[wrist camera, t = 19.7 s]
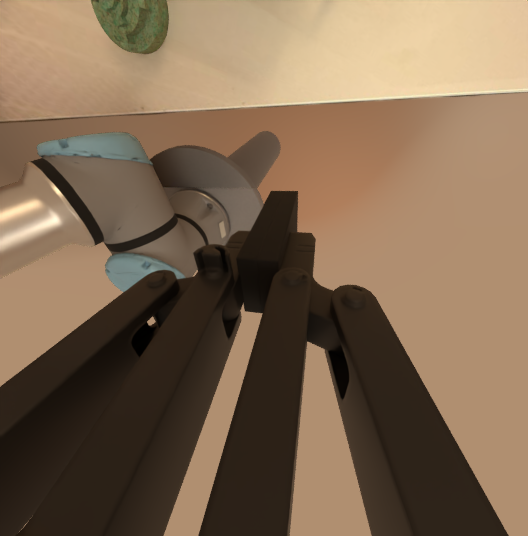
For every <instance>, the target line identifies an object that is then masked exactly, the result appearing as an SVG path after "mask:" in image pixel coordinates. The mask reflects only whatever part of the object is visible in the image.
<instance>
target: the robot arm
mask: <svg viewBox="0 0 528 536" xmlns="http://www.w3.org/2000/svg"><path fill="white" fill-rule="evenodd" d="M37 150H38V155H39V156H41V157H42V158H41V159H38V160H34V161H31V162H27V163H26V164H25V167H24V171H23V175H22V178H21V179H20V180H19V181H18V182H15V183H12V184H9V185H6V186H3V187H0V279H1V278H3V277H5V276H7V275H9V274H11V273H13V272H15V271H17V270H19V269H21V268H23V267H25V266H27V265H29V264H31V263H33V262H36V261H38V260H39V259H41V258H43V257H46V256H48V255H50V254H52V253H54V252H56V251H58V250H60V249H62V248H64V247H66V246H68V245H70V244H78V245H83V246H89V247H93V246H95V245H97V244H99V243H101V242H104V243H105V245H106V246H107V248H108V249H109V250H110V252H111V253H112V256H110V257H109V258H108V260H107V262H106V265H105V267H106V270H105V271H106V274H107V276H108V278H109V279H110V280H111V282H112V283H113V284H114V285H115V286H116V287H117V288H119V289H120V290H121V291H123V292H124V293H122V294H121V295H120V296H118V297H117V298H116V299H115V300H113V301H112V302H111V303H109V304H108V305H107V306H105V307H104V308H103V309H101V310H100V311H99V312H97V313H96V314H95V315H93V316H92V317H91V318H90V319H89V320H87V321H86V322H84V323H83V324H82V325H80V326H79V327H78V328H77V329H75V330H74V331H73V332H71V333H70V334H69V335H67V336H66V337H65V338H63V339H62V340H61V341H59V342H58V343H57V344H56V345H54V346H53V347H52V348H50V349H49V350H48V351H46V352H45V353H44V354H43V355H41V356H40V357H39V358H37V359H36V360H35V361H33V362H32V363H31V364H29V365H28V366H27V367H25V368H24V369H23V370H22V371H20V372H19V373H18V374H16V375H15V376H14V377H12V378H11V379H10V380H8V381H7V382H6V383H5V384H3V385H2V386H1V387H0V536H163V535H164V532H165V530H166V527H167V524H168V521H169V518H170V516H171V513H172V510H173V507H174V505H175V502H176V499H177V496H178V494H179V491H180V488H181V486H182V483H183V480H184V477H185V474H186V471H187V469H188V466H189V463H190V461H191V458H192V455H193V452H194V450H195V447H196V444H197V441H198V438H199V436H200V433H201V430H202V427H203V425H204V422H205V419H206V416H207V414H208V411H209V408H210V405H211V403H212V400H213V397H214V394H215V392H216V389H217V386H218V383H219V381H220V378H221V375H222V372H223V370H224V367H225V364H226V361H227V359H228V356H229V353H230V350H231V347H232V345H233V342H234V339H235V336H236V334H237V331H238V328H239V325H240V323H241V312H240V310H241V307H242V305H243V303H244V309H245V311H248V312H256V313H263V314H262V318H261V321H260V325H259V328H258V332H257V335H256V339H255V342H254V346H253V349H252V352H251V356H250V359H249V363H248V366H247V370H246V374H245V377H244V380H243V384H242V387H241V391H240V394H239V397H238V401H237V404H236V408H235V411H234V415H233V418H232V421H231V425H230V428H229V432H228V436H227V439H226V442H225V446H224V449H223V453H222V456H221V459H220V463H219V466H218V470H217V473H216V477H215V480H214V484H213V487H212V491H211V494H210V498H209V501H208V504H207V508H206V511H205V515H204V518H203V522H202V525H201V529H200V532H199V536H289V535H290V534H289V533H290V524H291V513H292V502H293V491H294V480H295V468H296V458H297V446H298V436H299V425H300V414H301V402H302V392H303V381H304V370H305V359H306V347H307V341H308V342H311V343H312V344H315V345H317V346H319V347H321V348H324V349H325V354H326V358H327V362H328V365H329V370H330V373H331V377H332V381H333V385H334V389H335V393H336V397H337V401H338V405H339V409H340V413H341V417H342V421H343V424H344V429H345V432H346V436H347V440H348V444H349V448H350V452H351V456H352V460H353V464H354V468H355V472H356V475H357V479H358V483H359V487H360V491H361V495H362V499H363V503H364V507H365V511H366V515H367V519H368V523H369V527H370V530H371V534H372V536H508V534H507V532H506V530H505V529H504V527H503V525H502V523H501V521H500V520H499V518H498V516H497V514H496V513H495V511H494V509H493V507H492V505H491V504H490V502H489V500H488V498H487V496H486V495H485V493H484V491H483V489H482V488H481V486H480V484H479V482H478V480H477V478H476V477H475V475H474V473H473V471H472V469H471V468H470V466H469V464H468V462H467V460H466V459H465V457H464V455H463V453H462V452H461V450H460V448H459V446H458V444H457V443H456V441H455V439H454V437H453V436H452V434H451V432H450V430H449V428H448V426H447V425H446V423H445V421H444V420H443V417H442V416H441V414H440V412H439V410H438V409H437V407H436V405H435V403H434V401H433V399H432V398H431V396H430V394H429V392H428V391H427V389H426V387H425V385H424V383H423V382H422V380H421V378H420V376H419V374H418V373H417V371H416V369H415V367H414V365H413V364H412V362H411V360H410V358H409V356H408V355H407V353H406V351H405V349H404V347H403V346H402V344H401V342H400V340H399V338H398V337H397V335H396V333H395V332H394V330H393V328H392V326H391V324H390V322H389V321H388V319H387V317H386V315H385V313H384V312H383V310H382V308H381V306H380V304H379V303H378V301H377V299H376V297H375V296H374V295H373V294H372V293H371V292H370V291H368V290H367V289H365V288H363V287H360V286H357V285H344V286H340V287H338V288H337V289H335V290H334V291H333V290H329V289H327V288H325V287H322V286H321V285H319V284H318V283H317V282H316V281H315V280H314V278H313V267H314V252H315V238H314V236H313V235H312V233H299V232H297V210H298V191H271V192H270V194H269V196H268V198H267V200H266V202H265V204H264V205H263V207H262V209H261V211H260V213H259V215H258V217H257V219H256V221H255V223H254V225H253V227H252V229H251V230H250V231H239V230H238V231H237V232H236V233H234V234H233V235H231V237H230V238H229V240H228V241H227V243H226V245H225V246H224V243H225V242H226V240H227V239H228V237H229V235H230V231H231V223H230V218H229V215H228V213H227V211H226V209H225V208H224V206H223V205H222V204H221V203H220V201H219V200H218V199H216V198H215V197H214V196H213V195H211V194H209V193H208V192H206V191H203V190H200V189H196V188H185V189H182V190H179V191H178V192H176V193H175V194H173V195H172V196H171V197H170V198H169V199H168V198H167V195H166V193H165V191H164V189H163V187H162V185H161V183H160V181H159V179H158V176H157V174H156V172H155V170H154V168H153V163H152V162H151V161H150V160H149V159H148V157H147V155H146V153H145V151H144V149H143V147H142V146H141V144H140V142H139V141H138V139H137V138H136V137H134V136H133V135H131V134H129V133H124V132H110V133H98V134H89V135H82V136H75V137H69V138H67V139H59V140H51V141H47V142H43V143H40V144H38V145H37ZM197 269H198V273H197V274H196V275H195V276H194V277H192V276H193V275H194V273H195V272H196V270H197ZM152 316H153V317H154V319H155V321H156V322H155V323H154V324H153V325H151V326H149V325H148V323H147V321H148V320H149V319H150V318H151V317H152ZM31 517H32V518H31ZM30 518H31V519H30ZM29 519H30V520H29ZM27 522H28V523H27ZM26 523H27V524H26ZM25 524H26V525H25ZM24 525H25V527H24V528H23V526H24ZM22 528H23V529H22ZM21 529H22V530H21ZM20 530H21V531H20ZM19 531H20V532H19ZM18 532H19V533H18ZM17 533H18V534H17Z"/></svg>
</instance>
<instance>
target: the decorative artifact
mask: <svg viewBox="0 0 528 536" xmlns="http://www.w3.org/2000/svg"><path fill="white" fill-rule="evenodd" d="M91 3H92V6H93V9H94V12H95V14H96V16H97V19H98V21H99V23H100V24H101V26H102V28H103V29H104V31H105V32H106V34H107V35H108V36H109V37H110V39H111V40H112V41H113V42H114V43H116V44H117V45H118V46H119V47H121V48H122V49H124V50H126V51H129V52H135V53H142V54H149V53H152V52H154V51H156V50H157V49H159V48H160V46H161V45H162V44H163V42H164V40H165V37H166V34H167V30H168V7H167V2H166V0H91Z"/></svg>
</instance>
